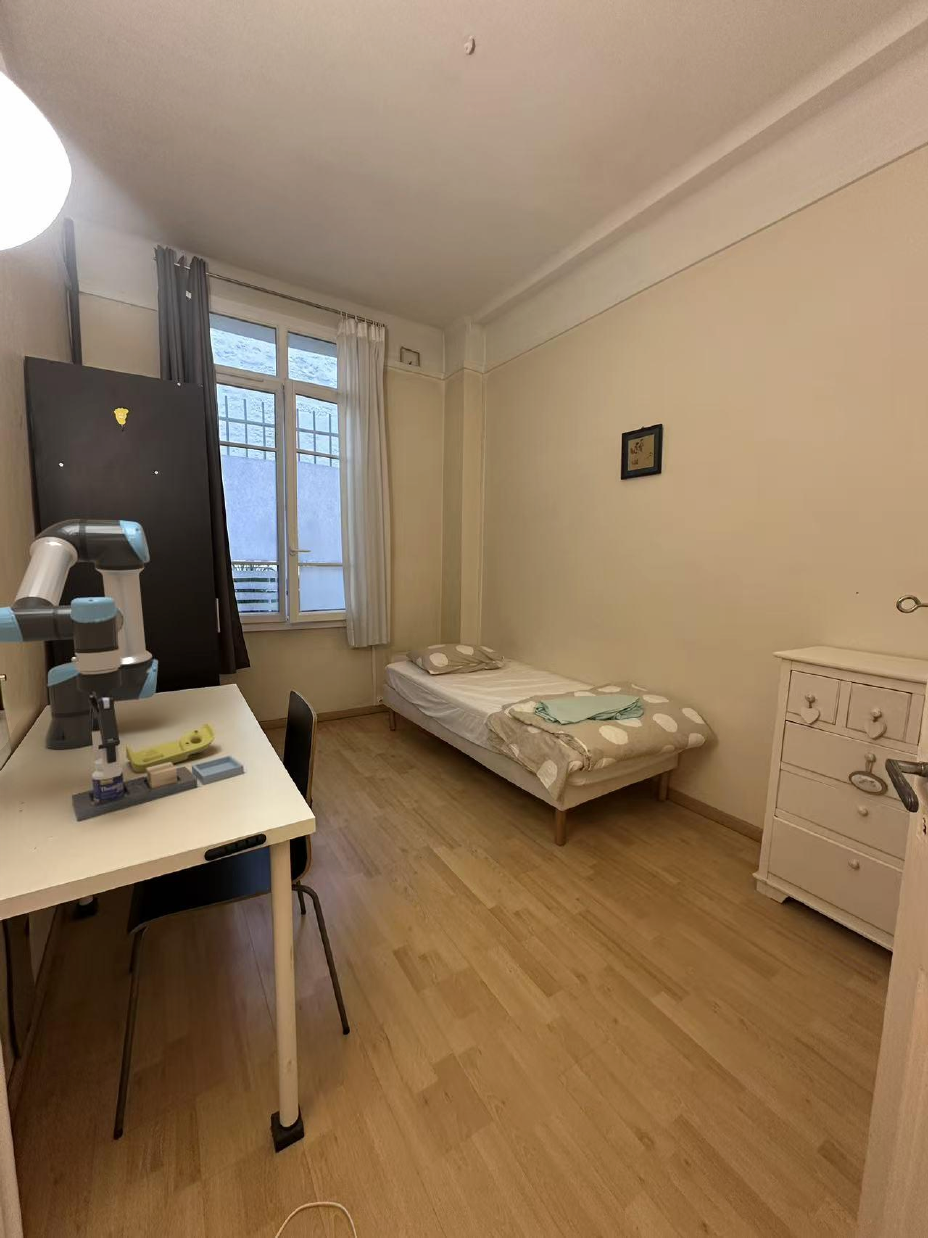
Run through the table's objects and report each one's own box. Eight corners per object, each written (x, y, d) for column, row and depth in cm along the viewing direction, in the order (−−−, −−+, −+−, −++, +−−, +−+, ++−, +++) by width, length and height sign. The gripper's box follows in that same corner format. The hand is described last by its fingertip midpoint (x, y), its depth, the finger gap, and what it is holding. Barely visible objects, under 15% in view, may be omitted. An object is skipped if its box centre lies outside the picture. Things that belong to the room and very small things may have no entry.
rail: (72, 804, 105) (71, 795, 105) (185, 774, 120) (184, 766, 120) (77, 821, 98) (77, 812, 98) (197, 787, 113) (196, 779, 113)
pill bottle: (101, 811, 102) (97, 767, 101) (89, 804, 105) (86, 761, 104) (129, 801, 107) (126, 758, 106) (118, 795, 110) (114, 753, 108)
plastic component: (134, 767, 119) (124, 741, 125) (136, 788, 122) (126, 761, 128) (220, 741, 133) (207, 718, 138) (219, 760, 136) (207, 737, 142)
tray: (192, 772, 121) (191, 765, 121) (230, 762, 127) (230, 755, 127) (203, 784, 115) (203, 776, 114) (243, 773, 121) (243, 765, 121)
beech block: (147, 788, 113) (146, 768, 112) (172, 782, 116) (170, 762, 116) (152, 795, 109) (151, 774, 109) (177, 789, 113) (176, 768, 112)
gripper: (69, 665, 109) (77, 756, 111) (84, 682, 91) (93, 791, 93) (110, 660, 114) (117, 748, 116) (131, 676, 96) (139, 779, 98)
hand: (106, 767), depth 105 cm, fingers open, 13 cm apart
